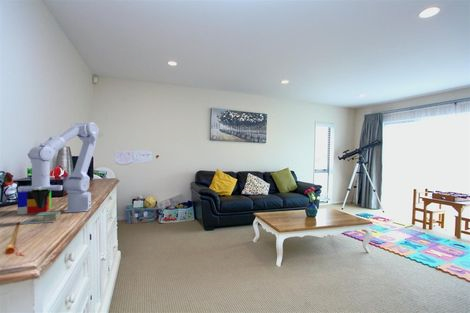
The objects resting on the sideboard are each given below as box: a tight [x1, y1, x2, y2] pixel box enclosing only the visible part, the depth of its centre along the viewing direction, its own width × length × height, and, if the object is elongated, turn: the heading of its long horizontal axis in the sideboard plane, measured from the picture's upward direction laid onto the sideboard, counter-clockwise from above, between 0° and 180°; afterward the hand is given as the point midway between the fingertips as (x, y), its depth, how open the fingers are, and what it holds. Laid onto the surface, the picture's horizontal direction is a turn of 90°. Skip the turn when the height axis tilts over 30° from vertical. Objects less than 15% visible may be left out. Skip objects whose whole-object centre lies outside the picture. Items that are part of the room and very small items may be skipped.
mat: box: [19, 215, 62, 226], centre depth 95 cm, size 11×8×1 cm
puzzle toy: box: [17, 190, 52, 215], centre depth 110 cm, size 10×10×10 cm
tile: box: [34, 210, 61, 222], centre depth 96 cm, size 2×5×7 cm
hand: (40, 207), depth 96 cm, fingers closed
